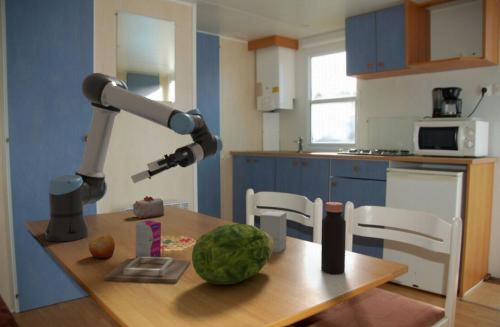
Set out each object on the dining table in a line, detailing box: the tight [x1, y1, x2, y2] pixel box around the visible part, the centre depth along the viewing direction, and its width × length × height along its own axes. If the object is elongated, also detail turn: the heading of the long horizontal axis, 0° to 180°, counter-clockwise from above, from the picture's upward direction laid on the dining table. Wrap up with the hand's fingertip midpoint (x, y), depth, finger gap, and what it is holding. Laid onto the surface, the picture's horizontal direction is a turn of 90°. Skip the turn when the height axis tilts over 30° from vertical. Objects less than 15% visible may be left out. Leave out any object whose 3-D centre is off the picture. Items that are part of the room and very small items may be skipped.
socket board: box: [103, 256, 191, 284], centre depth 114 cm, size 20×16×2 cm
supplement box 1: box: [135, 219, 162, 259], centre depth 127 cm, size 6×6×12 cm
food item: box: [132, 195, 165, 219], centre depth 192 cm, size 14×8×10 cm, turn 127°
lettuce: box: [191, 223, 274, 285], centre depth 108 cm, size 15×27×16 cm, turn 137°
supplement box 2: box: [259, 210, 287, 253], centre depth 138 cm, size 7×7×13 cm
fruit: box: [88, 234, 116, 259], centre depth 128 cm, size 8×8×8 cm
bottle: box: [320, 201, 347, 275], centre depth 115 cm, size 7×7×20 cm
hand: (140, 174), depth 133 cm, fingers open, 13 cm apart
